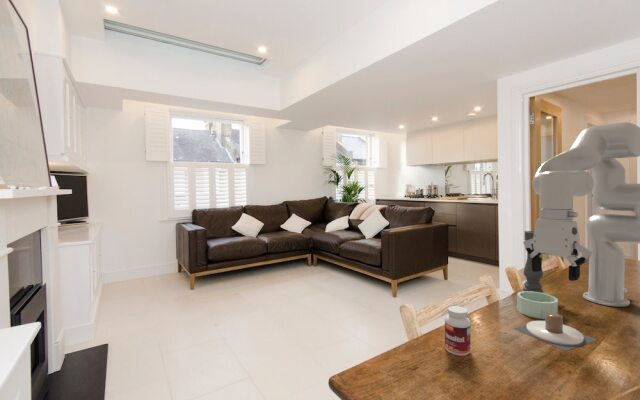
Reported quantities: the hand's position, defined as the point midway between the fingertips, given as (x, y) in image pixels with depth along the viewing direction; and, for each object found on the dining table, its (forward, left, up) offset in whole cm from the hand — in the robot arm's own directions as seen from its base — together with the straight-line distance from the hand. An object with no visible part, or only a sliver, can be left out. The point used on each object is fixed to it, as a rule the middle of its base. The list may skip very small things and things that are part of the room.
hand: (554, 275), depth 88 cm
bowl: (-11, -12, -17) cm, 24 cm away
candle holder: (-24, -22, -18) cm, 37 cm away
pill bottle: (+31, -5, -18) cm, 36 cm away
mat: (0, 0, -17) cm, 17 cm away
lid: (0, 0, -17) cm, 17 cm away
